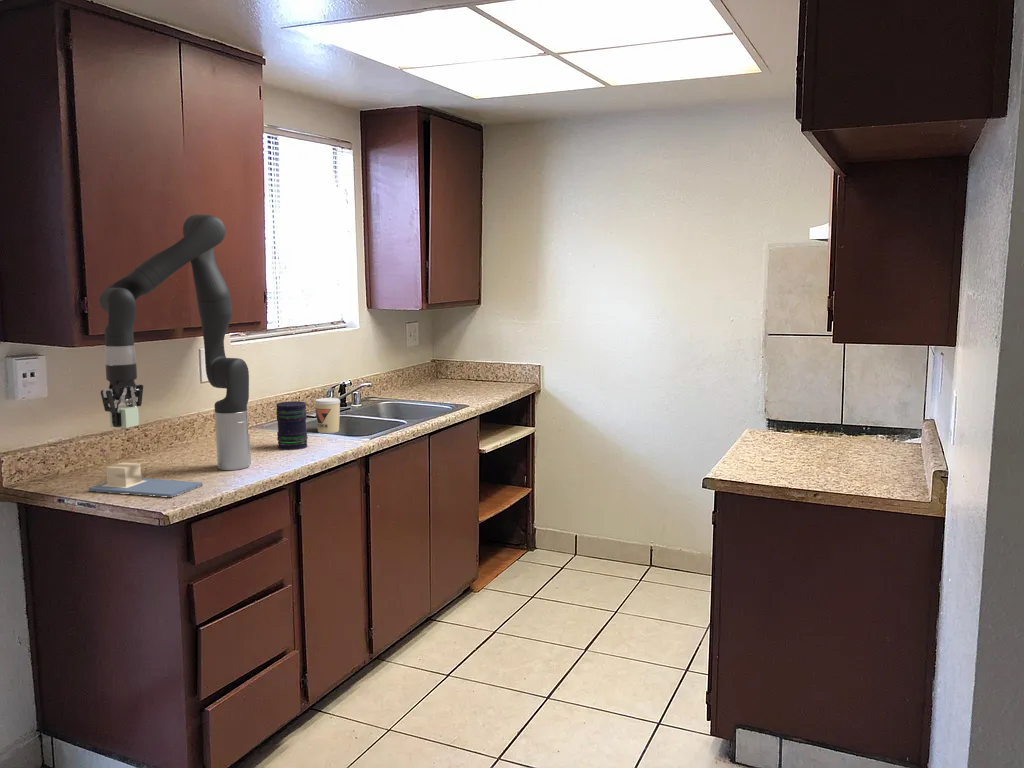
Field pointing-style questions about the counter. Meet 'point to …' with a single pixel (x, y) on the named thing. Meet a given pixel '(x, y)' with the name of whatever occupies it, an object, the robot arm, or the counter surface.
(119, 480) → the maple block
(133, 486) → the board
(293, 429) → the storage jar
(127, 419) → the sage block
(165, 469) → the counter surface
